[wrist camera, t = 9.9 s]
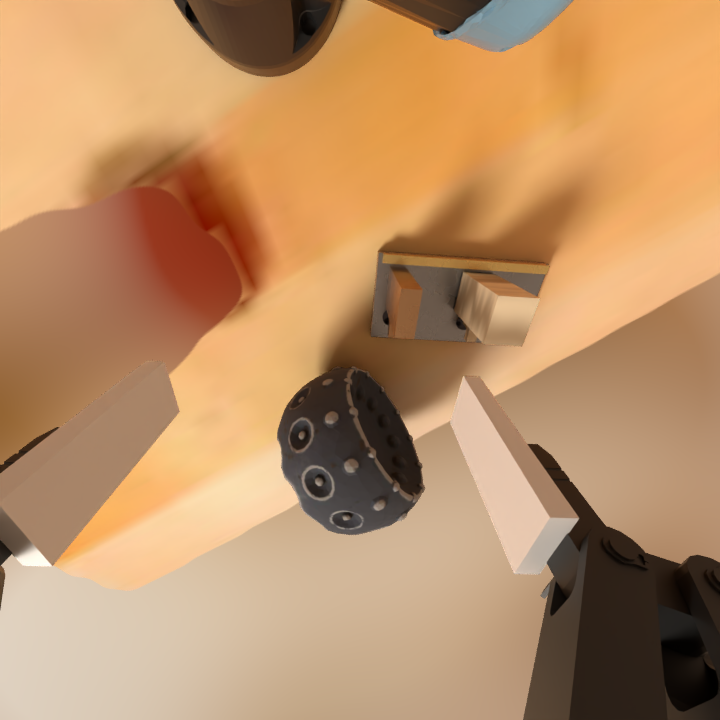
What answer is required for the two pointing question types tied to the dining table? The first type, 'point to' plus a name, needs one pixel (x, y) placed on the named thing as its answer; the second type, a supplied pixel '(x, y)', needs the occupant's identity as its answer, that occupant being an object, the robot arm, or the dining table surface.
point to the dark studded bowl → (349, 453)
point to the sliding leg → (494, 309)
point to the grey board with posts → (435, 292)
